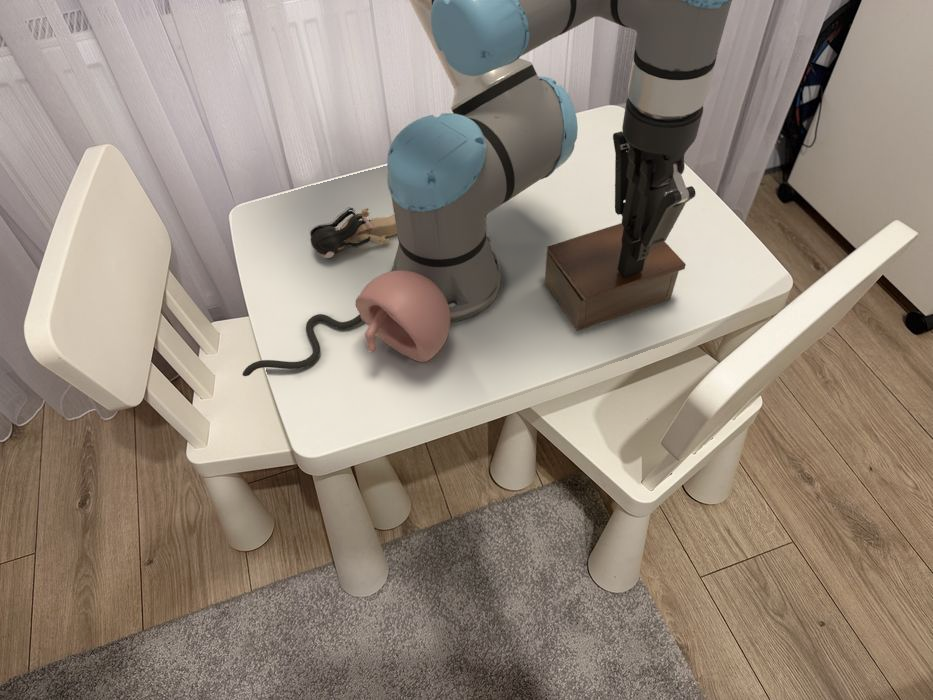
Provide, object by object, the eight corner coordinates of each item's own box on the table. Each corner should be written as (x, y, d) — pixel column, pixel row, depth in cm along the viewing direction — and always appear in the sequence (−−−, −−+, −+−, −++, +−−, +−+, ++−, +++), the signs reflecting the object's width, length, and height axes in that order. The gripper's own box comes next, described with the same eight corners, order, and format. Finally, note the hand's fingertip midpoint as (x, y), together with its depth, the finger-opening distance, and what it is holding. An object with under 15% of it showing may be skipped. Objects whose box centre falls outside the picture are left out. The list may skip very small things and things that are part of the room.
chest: (670, 298, 92) (679, 268, 88) (577, 331, 89) (581, 301, 85) (633, 253, 98) (640, 221, 93) (544, 282, 95) (546, 251, 90)
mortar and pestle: (479, 347, 82) (402, 400, 83) (451, 305, 92) (382, 353, 92) (429, 275, 75) (345, 333, 76) (404, 238, 85) (330, 289, 86)
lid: (684, 269, 87) (686, 264, 86) (585, 302, 84) (585, 297, 83) (640, 221, 93) (641, 216, 93) (546, 251, 90) (547, 246, 90)
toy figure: (393, 208, 107) (305, 242, 102) (393, 178, 101) (299, 211, 96) (416, 238, 103) (325, 274, 98) (416, 208, 98) (320, 245, 93)
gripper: (737, 125, 64) (684, 296, 82) (662, 61, 72) (629, 230, 90) (668, 145, 62) (630, 315, 81) (599, 77, 70) (579, 246, 88)
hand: (629, 270), depth 85 cm, fingers closed
